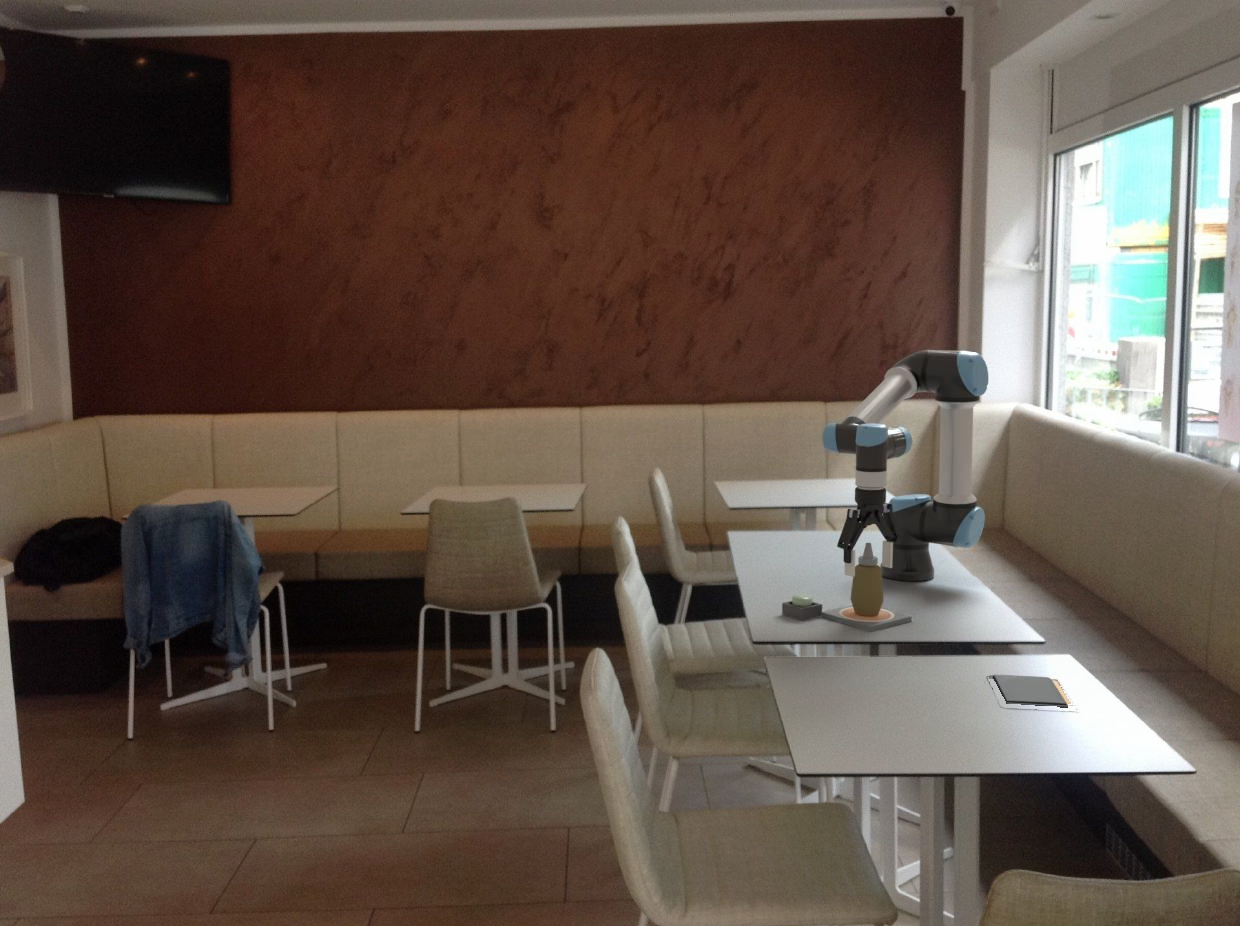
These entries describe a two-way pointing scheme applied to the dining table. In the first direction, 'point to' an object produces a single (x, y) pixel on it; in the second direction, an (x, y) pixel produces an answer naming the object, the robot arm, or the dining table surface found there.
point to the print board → (866, 618)
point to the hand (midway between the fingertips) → (868, 571)
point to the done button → (802, 600)
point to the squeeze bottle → (867, 585)
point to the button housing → (802, 611)
